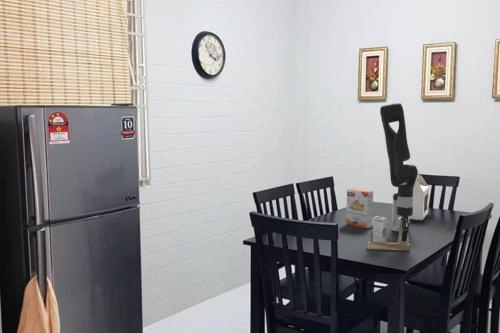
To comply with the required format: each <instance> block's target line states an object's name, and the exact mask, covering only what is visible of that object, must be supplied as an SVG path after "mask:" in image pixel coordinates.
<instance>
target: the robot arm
mask: <svg viewBox="0 0 500 333" xmlns="http://www.w3.org/2000/svg"><path fill="white" fill-rule="evenodd" d="M379 110H380V111H379V114H380V119H381V122H382V127H383V132H384V139H385V146H386V152H387V157H388V162H389V163H388V165H389V175H390V183H391V186H392V187H394V188H395V187H396V188H397V192H396V193H394V194H393V195H392V218H391V219H392V220H391V223H392V224H391V230H392V231H393V232H397V233H399V229H402V241H407V234H408V233H409V232H410V224H411V222H410V221H411V219H410V216H412V215H413V187H414V184H415V181H416V178H417V174H418V171H419V170H418V168H417V166H416V165H415V164H404V162H407V161H408V160H410V159H411V153H410V148H409V144H408V137H407V128H406V126H407V125H406V119H405V113H404V108H403V105H402V103H401V102H394V103H389V104H385V105H381V106H380V108H379ZM395 122H398V129H397V132H396V130H394V129H393V127H392V126H391V125H390V124H392V123H395ZM404 230H406V231H404ZM409 234H410V233H409Z"/></svg>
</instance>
